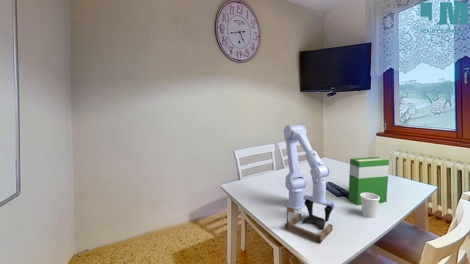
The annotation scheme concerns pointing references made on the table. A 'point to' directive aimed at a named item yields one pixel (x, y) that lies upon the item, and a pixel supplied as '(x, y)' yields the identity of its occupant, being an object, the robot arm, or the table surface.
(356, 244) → the table surface
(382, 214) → the table surface
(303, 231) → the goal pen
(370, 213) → the dixie cup
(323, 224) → the gaming controller
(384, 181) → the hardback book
